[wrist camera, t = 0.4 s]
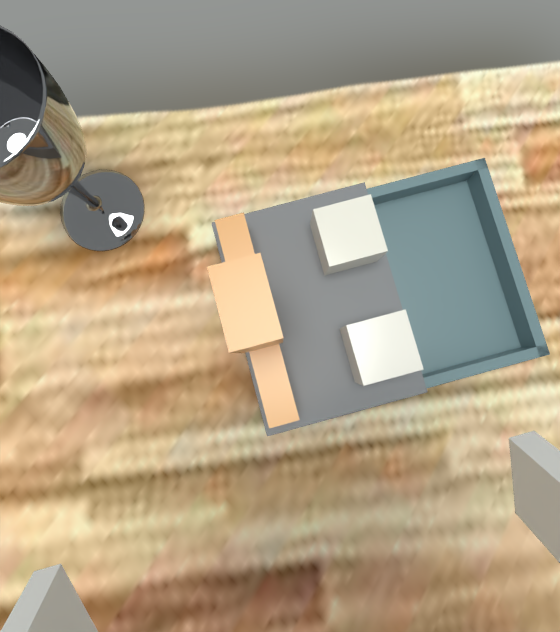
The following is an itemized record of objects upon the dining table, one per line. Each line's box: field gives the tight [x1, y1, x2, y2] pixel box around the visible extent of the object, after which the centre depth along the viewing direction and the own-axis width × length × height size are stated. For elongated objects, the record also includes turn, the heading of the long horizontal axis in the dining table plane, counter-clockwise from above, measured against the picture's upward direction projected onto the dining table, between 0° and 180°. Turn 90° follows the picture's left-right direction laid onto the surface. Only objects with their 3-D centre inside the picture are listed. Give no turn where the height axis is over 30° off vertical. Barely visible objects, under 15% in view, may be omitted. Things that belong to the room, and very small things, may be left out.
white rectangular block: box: [310, 194, 388, 276], centre depth 28 cm, size 4×4×3 cm
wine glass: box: [0, 26, 144, 251], centre depth 26 cm, size 8×8×15 cm
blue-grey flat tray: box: [367, 158, 550, 388], centre depth 32 cm, size 16×10×2 cm, turn 15°
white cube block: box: [340, 309, 423, 386], centre depth 27 cm, size 4×4×3 cm
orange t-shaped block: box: [207, 213, 300, 428], centre depth 23 cm, size 14×2×11 cm, turn 15°
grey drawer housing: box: [212, 182, 427, 436], centre depth 31 cm, size 16×12×4 cm
